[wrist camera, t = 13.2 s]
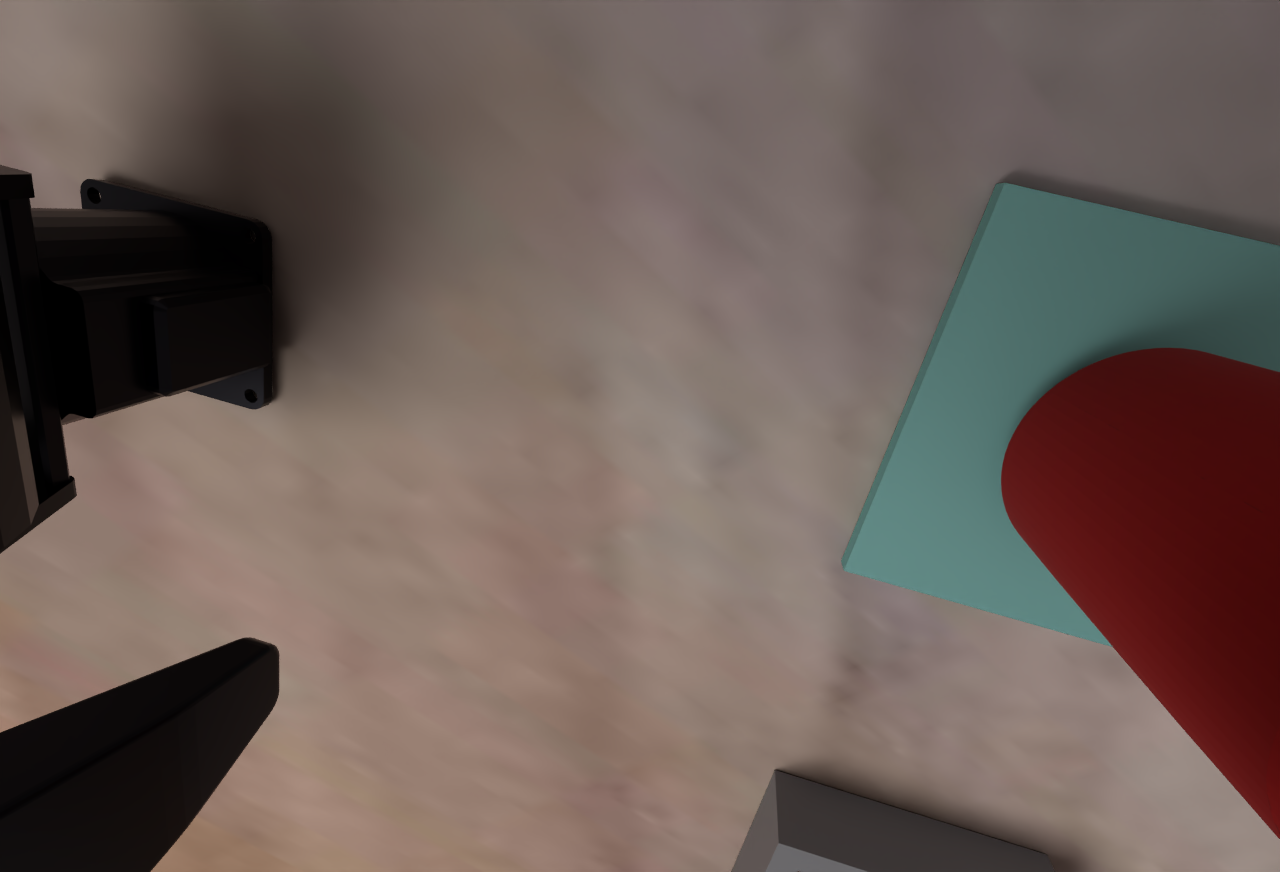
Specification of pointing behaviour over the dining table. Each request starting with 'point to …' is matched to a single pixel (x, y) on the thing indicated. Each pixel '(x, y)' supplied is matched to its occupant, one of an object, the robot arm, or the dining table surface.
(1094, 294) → the teal mat
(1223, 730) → the beverage can
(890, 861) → the can holder
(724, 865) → the dining table surface
